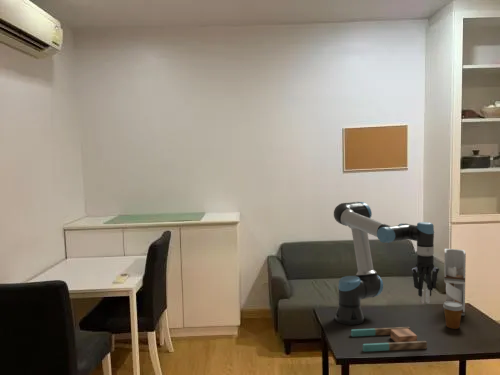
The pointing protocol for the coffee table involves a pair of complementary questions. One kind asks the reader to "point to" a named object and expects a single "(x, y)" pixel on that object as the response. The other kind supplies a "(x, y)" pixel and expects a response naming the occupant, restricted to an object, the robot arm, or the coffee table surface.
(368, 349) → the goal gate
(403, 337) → the wooden block
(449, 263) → the white open shelf
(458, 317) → the disposable coffee cup
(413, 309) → the coffee table surface
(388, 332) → the lane walls
